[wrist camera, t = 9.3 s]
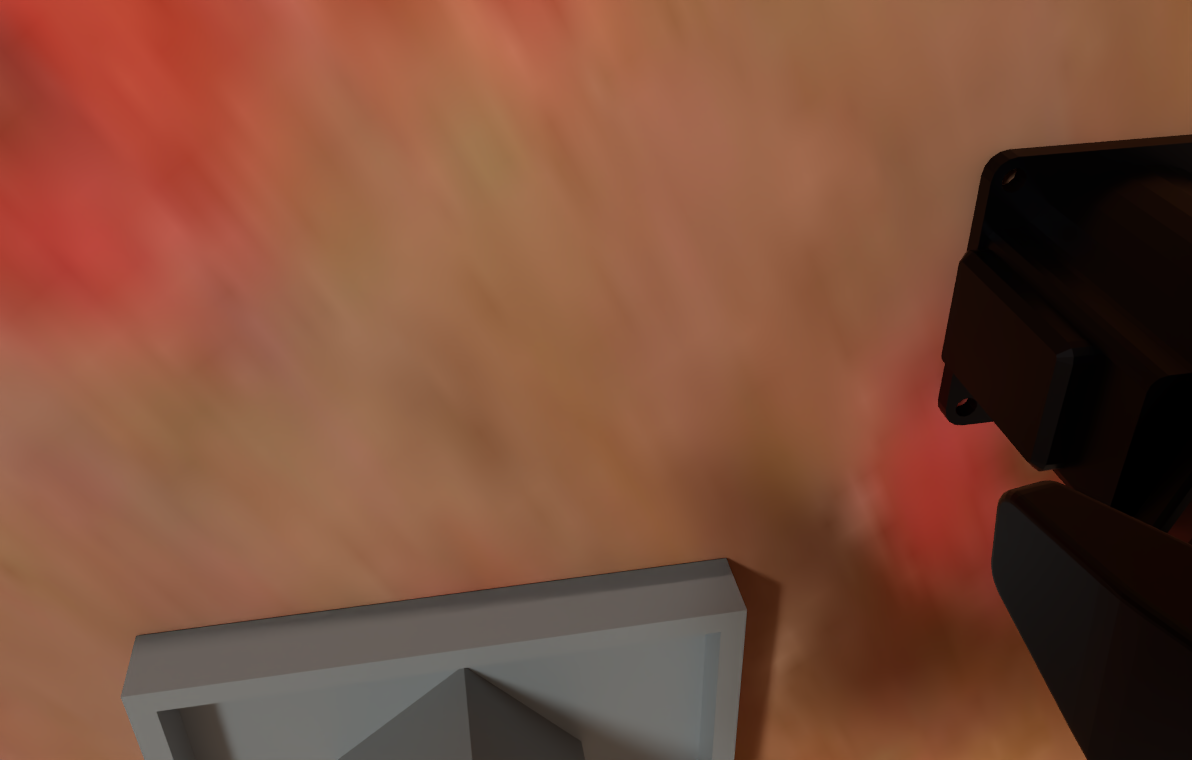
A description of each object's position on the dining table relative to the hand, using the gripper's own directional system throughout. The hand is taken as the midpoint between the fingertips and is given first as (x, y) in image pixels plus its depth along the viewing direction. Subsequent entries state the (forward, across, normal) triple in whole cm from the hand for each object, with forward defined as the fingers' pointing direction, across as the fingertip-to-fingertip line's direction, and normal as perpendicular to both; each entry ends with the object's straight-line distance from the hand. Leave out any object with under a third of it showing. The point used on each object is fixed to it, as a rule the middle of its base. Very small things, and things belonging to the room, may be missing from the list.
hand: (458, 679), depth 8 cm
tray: (+13, +2, +17) cm, 21 cm away
